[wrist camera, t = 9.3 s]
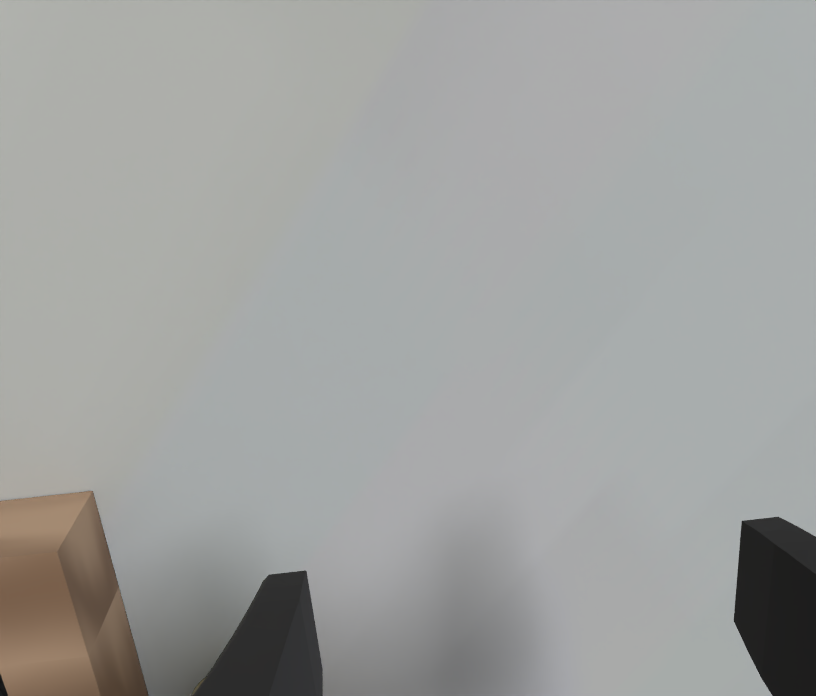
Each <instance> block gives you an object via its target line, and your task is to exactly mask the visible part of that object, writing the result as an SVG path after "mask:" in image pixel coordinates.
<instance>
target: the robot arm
mask: <svg viewBox="0 0 816 696" xmlns="http://www.w3.org/2000/svg"><path fill="white" fill-rule="evenodd" d="M734 622H735V624H736V626H737V629H738V631H739V633H740V635H741V637H742V639H743V642H744V644H745V646H746V648H747V650H748V652H749V654H750V656H751V658H752V660H753V662H754V664H755V666H756V668H757V670H758V672H759V674H760V676H761V678H762V680H763V681H764V683H765V684H766V686H767V687H768V689H769V691H770V692H771V694H772V695H773V696H816V537H815V536H813V535H811V534H810V533H808V532H806V531H804V530H803V529H801V528H799V527H797V526H795V525H793V524H791V523H790V522H788V521H786V520H784V519H782V518H779V517H773V518H764V519H755V520H747V521H742V526H741V538H740V551H739V563H738V576H737V588H736V600H735V613H734ZM193 696H322V664H321V658H320V651H319V645H318V639H317V633H316V627H315V621H314V615H313V609H312V603H311V597H310V591H309V584H308V578H307V572H306V571H298V572H289V573H281V574H272V575H268V576H267V578H266V579H265V580H264V581H263V582H262V584H261V586H260V588H259V590H258V592H257V594H256V596H255V598H254V600H253V601H252V603H251V605H250V607H249V609H248V610H247V612H246V614H245V616H244V617H243V619H242V621H241V623H240V624H239V626H238V628H237V629H236V631H235V633H234V634H233V636H232V638H231V639H230V641H229V642H228V644H227V645H226V647H225V649H224V650H223V652H222V653H221V655H220V656H219V658H218V660H217V661H216V663H215V664H214V666H213V668H212V669H211V670H210V672H209V673H208V675H207V676H206V678H205V679H204V681H203V682H202V683H201V685H200V686H199V688H198V689H197V690H196V692H195V693H194V695H193Z"/></svg>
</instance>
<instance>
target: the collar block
mask: <svg viewBox="0 0 816 696" xmlns="http://www.w3.org/2000/svg"><path fill="white" fill-rule="evenodd" d="M0 674H1V677H2V680H3V682H4V685H5V688H6V691H7V694H8V696H148V692H147V689H146V685H145V681H144V678H143V674H142V670H141V667H140V663H139V659H138V656H137V652H136V649H135V645H134V641H133V638H132V634H131V630H130V627H129V623H128V619H127V616H126V612H125V608H124V605H123V601H122V597H121V594H120V590H119V586H118V583H117V579H116V575H115V572H114V568H113V564H112V561H111V557H110V553H109V550H108V546H107V542H106V539H105V535H104V531H103V528H102V524H101V520H100V517H99V513H98V509H97V506H96V502H95V498H94V495H93V491H88V492H79V493H70V494H60V495H51V496H42V497H33V498H24V499H15V500H6V501H0Z"/></svg>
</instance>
